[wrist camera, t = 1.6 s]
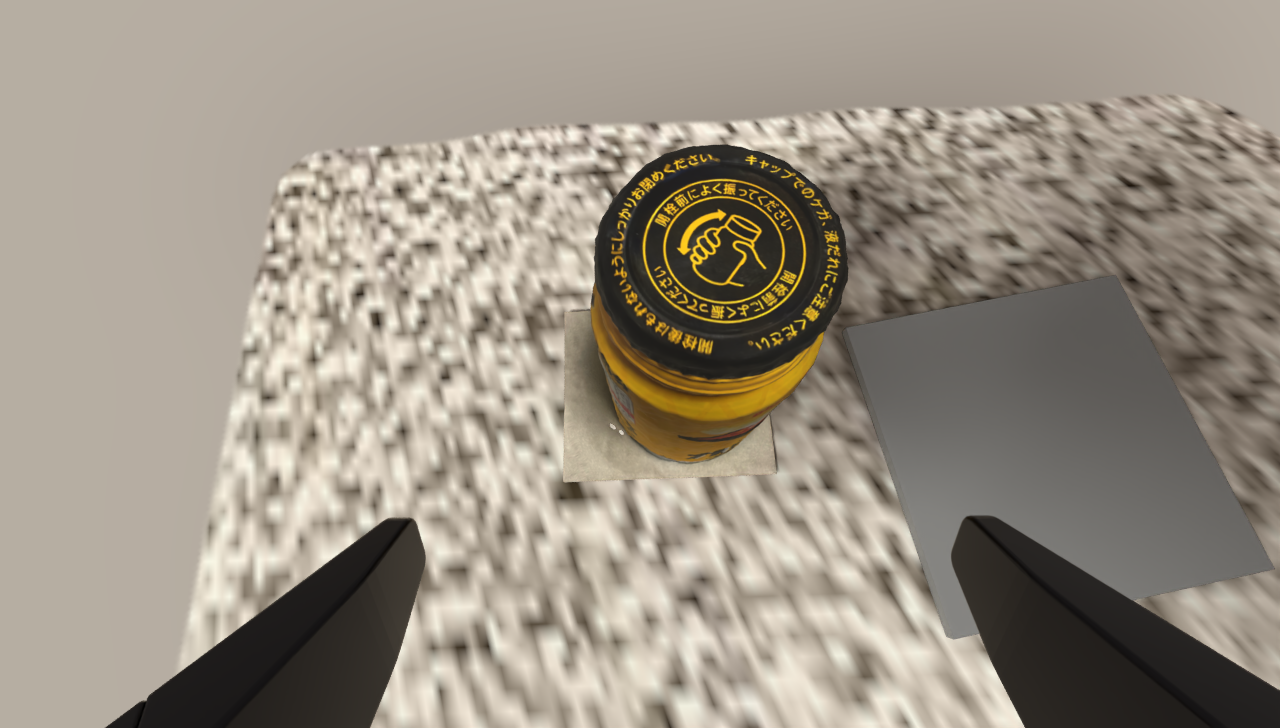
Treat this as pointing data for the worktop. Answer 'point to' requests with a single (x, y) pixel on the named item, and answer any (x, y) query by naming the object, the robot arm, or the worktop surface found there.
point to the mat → (1049, 442)
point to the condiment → (699, 317)
